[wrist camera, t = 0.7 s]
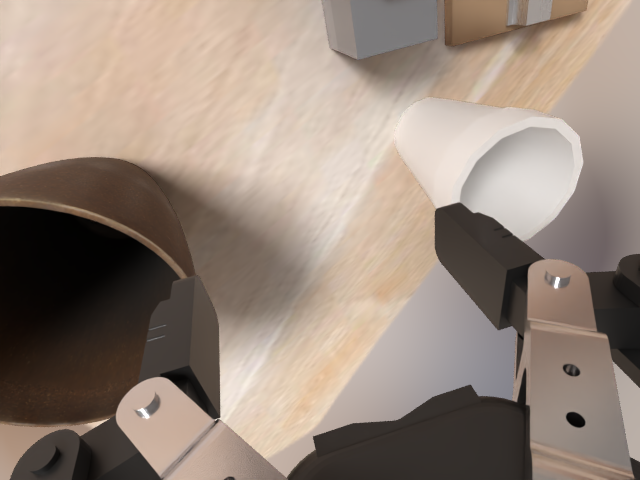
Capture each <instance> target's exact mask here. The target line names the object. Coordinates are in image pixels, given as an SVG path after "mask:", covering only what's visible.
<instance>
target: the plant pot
mask: <svg viewBox="0 0 640 480" xmlns="http://www.w3.org/2000/svg"><path fill="white" fill-rule="evenodd" d="M91 220H93V221H96V222H92V221H91ZM191 276H195V270H194V266H193V262H192V258H191V254H190V251H189V248H188V245H187V242H186V239H185V236H184V233H183V230H182V228H181V225H180V223H179V220H178V218H177V216H176V214H175V212H174V210H173V208H172V206H171V204H170V202H169V201H168V199H167V198H166V196H165V194H164V193H163V191H162V190H161V189H160V187H159V186H158V185H157V183H156V182H155V181H154V180H153V179H152V178H151V177H150V176H149V175H148V174H147V173H146V172H145V171H144V170H142V169H141V168H139V167H137V166H135V165H134V164H131V163H129V162H126V161H123V160H119V159H113V158H102V157H89V158H75V159H67V160H60V161H55V162H50V163H46V164H41V165H37V166H34V167H30V168H26V169H23V170H19V171H16V172H12V173H9V174H6V175H3V176H0V424H5V425H15V426H29V427H56V426H57V427H58V426H72V425H80V424H87V423H92V422H97V421H102V420H105V419H109V418H112V417H113V416H115V415H116V412H117V409H118V406H119V404H120V402H121V400H122V399H123V398H124V396H125V395H126V394H127V393H128V392H129V391H130V390H131V389H132V388H133V387H135V386H136V385H137V384H138V380H139V375H140V370H141V365H142V360H143V355H144V349H145V344H146V343H147V340H146V339H147V334H148V331H149V324H150V319H151V315H152V313H153V312H154V310H155V309H156V307H157V306H158V304H159V303H160V302H161V301H165V300H168V299H170V296H171V289H172V283H173V282H174V281H177V280H180V279H184V278H187V277H191Z"/></svg>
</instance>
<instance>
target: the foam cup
mask: <svg viewBox="0 0 640 480" xmlns="http://www.w3.org/2000/svg"><path fill="white" fill-rule="evenodd" d="M394 145H395V147H396V149H397V151H398V153H399V155H400V157H401V158H402V160H403V162H404V163H405V165H406V166H407V167H408V169H409V170H410V172H411V173H412V175H413V176H414V177H415V179H416V180H417V182H418V183H419V185H420V186H421V188H422V189H423V190H424V192H425V193H426V195H427V196H428V198H429V199H430V200H431V202H432V203H433V205H434V206H435V208H436V209H437V208H440V207H443V206H447V205H450V204H454V203H457V202H460V203H462V204H463V205H464V206H466V207H467V208H468V209H469V210H470V211H471V212H473V213H477V212H479V213H482V214H484V215H487V216H489V217H492V218H494V219H495V220H496V221H498V222H499V223H500V224H501V225H503V226H504V228H506V229H508V230H509V231H510V232H511V233H513V236H514V235H515V236H516V237H518V238H519V239H520V240H521V241H525V240H527V239H530V238H531V237H533V236H534V235H535V234H536V233H538V232H539V231H540V230H541V229H543V228H544V227H545V226H546V225H548V224H549V223H550V222H551V221H553V220H554V219H555V218H556V217H557V215H558V214H559V212H560V211H561V210H562V208H563V207H564V205H565V204H566V203H567V201H568V200H569V198H570V197H571V196H572V194H573V193H574V191H575V188H576V185H577V182H578V178H579V175H580V172H581V169H582V166H583V157H582V149H581V143H580V136H579V135H578V134H577V133H576V132H574V130H573V129H572V128H571V127H569V126H568V125H567V124H566V123H565V122H564V121H563V120H562V119H560V118H557V117H554V116H552V115H549V114H546V113H543V112H540V111H537V110H533V109H523V108H513V107H506V108H501V107H495V106H488V105H482V104H476V103H469V102H463V101H457V100H451V99H443V98H434V97H427V98H424V99H422V100H419V101H417V102H414V103H413V104H412V105H411V106H410V107H409V108H408V109H407V110H406V111H405V112H404V113H403V114H402V115H401V117H400V119H399V122H398V124H397V126H396V128H395V144H394Z"/></svg>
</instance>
